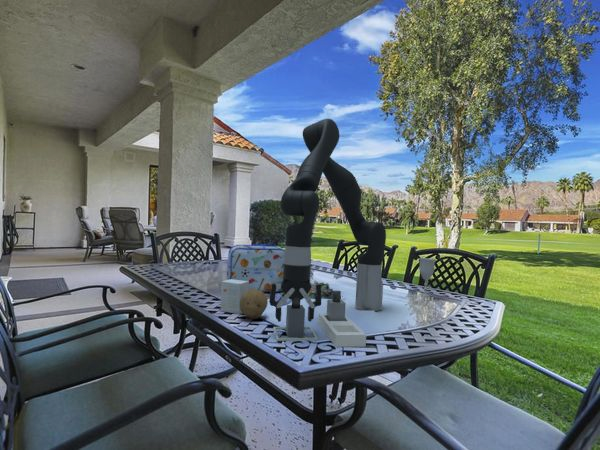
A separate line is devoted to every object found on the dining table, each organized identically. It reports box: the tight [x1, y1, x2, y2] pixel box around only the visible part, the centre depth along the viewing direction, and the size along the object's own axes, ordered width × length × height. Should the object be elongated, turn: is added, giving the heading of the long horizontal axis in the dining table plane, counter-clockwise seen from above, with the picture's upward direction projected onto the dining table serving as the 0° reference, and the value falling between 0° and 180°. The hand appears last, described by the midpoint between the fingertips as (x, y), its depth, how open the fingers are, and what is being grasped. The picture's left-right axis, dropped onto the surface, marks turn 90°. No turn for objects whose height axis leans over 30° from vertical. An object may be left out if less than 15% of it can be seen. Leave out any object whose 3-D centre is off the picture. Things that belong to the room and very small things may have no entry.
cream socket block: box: [317, 312, 367, 348], centre depth 98 cm, size 20×8×5 cm, turn 10°
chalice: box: [418, 257, 437, 298], centre depth 153 cm, size 7×7×18 cm
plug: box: [285, 297, 306, 338], centre depth 96 cm, size 4×4×11 cm
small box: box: [220, 279, 249, 315], centre depth 120 cm, size 8×6×10 cm
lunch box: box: [226, 242, 285, 293], centre depth 155 cm, size 28×10×22 cm, turn 107°
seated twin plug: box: [326, 290, 347, 321], centre depth 103 cm, size 4×4×11 cm
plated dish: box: [307, 279, 334, 300], centre depth 158 cm, size 35×28×7 cm
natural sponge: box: [240, 289, 269, 320], centre depth 111 cm, size 9×9×10 cm
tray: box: [273, 326, 319, 342], centre depth 96 cm, size 11×10×2 cm
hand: (294, 320), depth 96 cm, fingers open, 8 cm apart
